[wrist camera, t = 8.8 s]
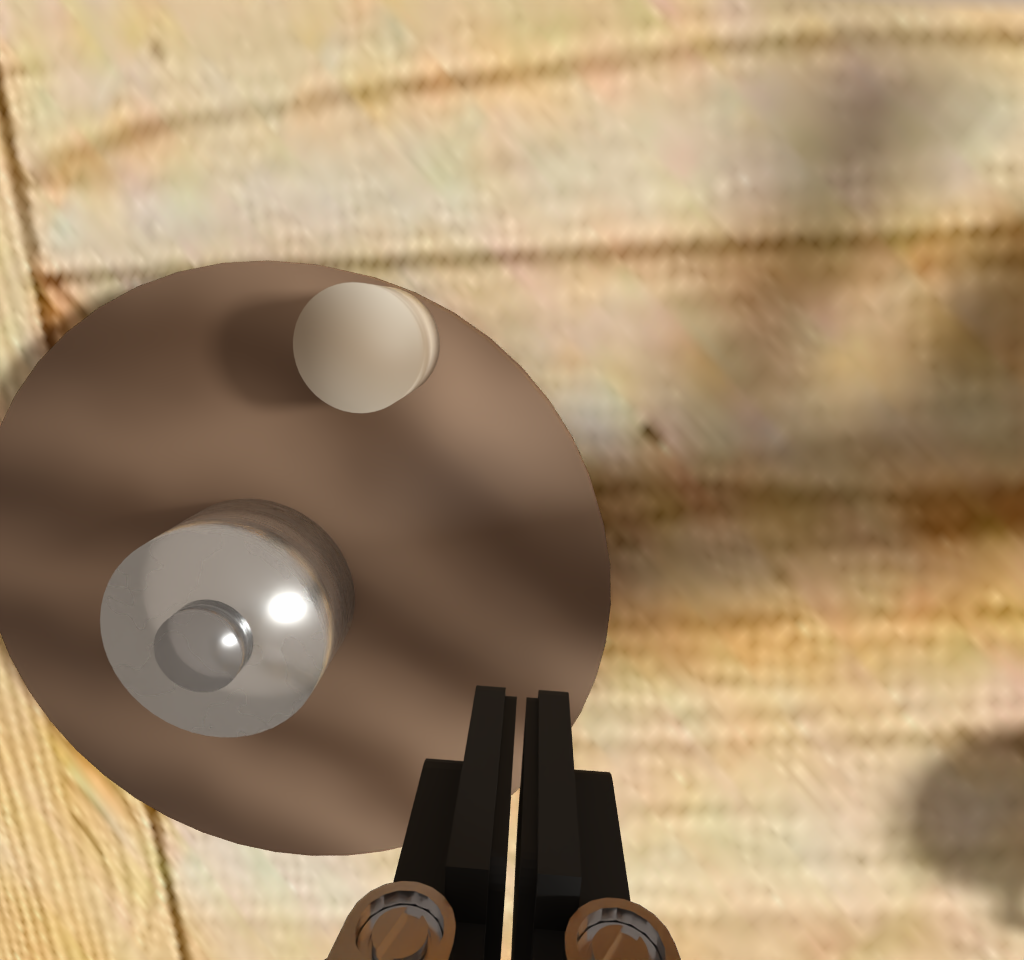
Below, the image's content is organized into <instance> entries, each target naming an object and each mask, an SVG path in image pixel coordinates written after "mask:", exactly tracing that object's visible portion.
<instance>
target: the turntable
mask: <svg viewBox="0 0 1024 960" xmlns="http://www.w3.org/2000/svg"><path fill="white" fill-rule="evenodd" d="M251 498H252V499H261V500H268V501H272V502H276V503H280V504H282V505H285V506H288V507H290V508H292V509H294V510H296V511H298V512H300V513H302V514H304V515H305V516H307V517H308V518H310V519H311V520H313V521H314V522H315V523H316V524H318V525H319V526H320V527H321V528H322V529H324V531H325V532H326V533H327V534H328V535H329V536H330V537H331V538H332V539H333V541H334V542H335V543H336V545H337V546H338V548H339V549H340V550H341V552H342V554H343V556H344V558H345V560H346V562H347V564H348V567H349V569H350V572H351V576H352V580H353V584H354V592H355V608H354V614H353V619H352V622H351V625H350V628H349V631H348V633H347V635H346V637H345V639H344V640H343V642H342V644H341V645H340V647H339V649H338V650H337V652H336V654H335V655H334V657H333V659H332V660H331V662H330V664H329V665H328V667H327V669H326V670H325V672H324V674H323V675H322V677H321V679H320V680H319V682H318V684H317V685H316V687H315V688H314V690H313V692H312V693H311V695H310V696H309V698H308V699H307V700H306V702H305V703H304V705H303V706H302V707H301V708H300V709H299V710H298V711H297V712H296V713H295V714H293V715H292V716H291V717H290V718H288V719H287V720H286V721H284V722H282V723H281V724H279V725H277V726H275V727H274V728H271V729H268V730H266V731H263V732H261V733H257V734H253V735H249V736H241V737H213V736H205V735H201V734H197V733H192V732H190V731H187V730H184V729H181V728H178V727H176V726H174V725H172V724H170V723H168V722H166V721H164V720H162V719H161V718H159V717H158V716H156V715H154V714H153V713H152V712H150V711H149V710H148V709H146V708H145V707H144V706H142V705H141V704H140V703H139V702H138V701H137V700H136V699H135V698H134V697H133V696H132V695H131V694H130V693H129V692H128V690H127V689H126V688H125V687H124V686H123V684H122V683H121V681H120V680H119V678H118V677H117V675H116V674H115V672H114V670H113V668H112V666H111V664H110V662H109V660H108V657H107V654H106V652H105V649H104V645H103V641H102V636H101V627H100V613H101V604H102V600H103V595H104V592H105V590H106V587H107V585H108V582H109V580H110V578H111V577H112V575H113V573H114V572H115V570H116V569H117V568H118V566H119V565H120V564H121V563H122V562H123V560H124V559H125V558H127V557H128V556H129V555H130V554H131V553H132V552H133V551H135V550H136V549H138V548H139V547H141V546H142V545H144V544H145V543H147V542H149V541H150V540H152V539H154V538H156V537H157V536H159V535H161V534H162V533H164V532H166V531H167V530H169V529H171V528H173V527H174V526H176V525H178V524H179V523H181V522H183V521H184V520H186V519H188V518H190V517H191V516H193V515H195V514H196V513H198V512H200V511H201V510H203V509H205V508H207V507H210V506H212V505H214V504H217V503H220V502H224V501H228V500H234V499H251ZM610 605H611V601H610V562H609V555H608V549H607V542H606V536H605V530H604V524H603V520H602V517H601V513H600V510H599V506H598V503H597V500H596V496H595V493H594V490H593V486H592V483H591V480H590V476H589V473H588V471H587V468H586V466H585V464H584V462H583V460H582V457H581V455H580V453H579V451H578V449H577V447H576V444H575V442H574V440H573V438H572V436H571V434H570V432H569V431H568V429H567V428H566V426H565V424H564V423H563V421H562V420H561V418H560V416H559V415H558V413H557V412H556V410H555V409H554V407H553V405H552V404H551V402H550V401H549V399H548V398H547V397H546V396H545V395H544V393H543V392H542V391H541V390H540V389H539V387H538V386H537V385H536V384H535V382H534V381H533V380H532V379H531V378H530V376H529V375H528V374H527V373H526V372H525V370H524V369H523V368H522V367H521V366H520V365H519V364H518V363H517V362H515V361H514V360H513V359H512V358H511V357H510V356H509V355H508V354H507V353H506V352H505V351H504V350H502V349H501V348H500V347H499V346H498V345H497V344H496V343H495V342H494V341H493V340H492V339H491V338H489V337H488V336H486V335H485V334H484V333H482V332H481V331H479V330H478V329H477V328H475V327H474V326H472V325H471V324H469V323H468V322H467V321H465V320H464V319H462V318H461V317H460V316H458V315H457V314H455V313H454V312H452V311H450V310H448V309H446V308H444V307H442V306H440V305H438V304H437V303H435V302H433V301H431V300H429V299H427V298H425V297H423V296H421V295H419V294H418V293H416V292H413V291H410V290H407V289H405V288H402V287H399V286H397V285H394V284H391V283H388V282H386V281H383V280H380V279H378V278H375V277H371V276H366V275H362V274H357V273H353V272H348V271H344V270H339V269H335V268H330V267H325V266H320V265H315V264H303V263H291V262H279V261H251V262H233V263H220V264H215V265H210V266H205V267H201V268H196V269H191V270H186V271H181V272H177V273H174V274H171V275H169V276H166V277H163V278H160V279H157V280H155V281H152V282H149V283H146V284H144V285H141V286H138V287H136V288H134V289H132V290H130V291H129V292H127V293H125V294H123V295H121V296H119V297H118V298H116V299H114V300H112V301H110V302H108V303H107V304H105V305H103V306H101V307H99V308H98V309H97V310H95V311H94V312H93V313H91V314H90V315H89V316H87V317H86V318H85V319H84V320H82V321H81V322H80V323H78V324H77V325H76V326H74V327H73V328H72V329H70V330H69V331H68V332H67V333H66V334H65V335H64V336H63V337H62V338H61V339H60V340H59V341H58V342H57V343H56V344H55V345H54V346H53V347H52V348H51V349H50V350H49V351H48V352H47V353H46V354H45V356H44V357H43V358H42V359H41V360H40V361H39V362H38V363H37V365H36V366H35V367H34V369H33V370H32V372H31V373H30V375H29V376H28V378H27V379H26V380H25V382H24V383H23V385H22V386H21V388H20V389H19V391H18V392H17V394H16V395H15V397H14V399H13V401H12V403H11V405H10V407H9V409H8V411H7V414H6V416H5V418H4V420H3V422H2V424H1V426H0V633H1V635H2V638H3V640H4V643H5V645H6V648H7V650H8V653H9V655H10V657H11V659H12V661H13V663H14V665H15V666H16V668H17V670H18V672H19V674H20V676H21V677H22V679H23V681H24V683H25V685H26V686H27V688H28V690H29V691H30V693H31V694H32V696H33V697H34V698H35V700H36V701H37V703H38V704H39V706H40V707H41V708H42V710H43V711H44V713H45V714H46V715H47V717H48V718H49V720H50V721H51V722H52V723H53V724H54V726H55V727H56V728H57V729H58V730H59V731H60V732H61V733H62V734H63V736H64V737H65V738H66V739H67V740H68V741H69V742H70V743H71V745H72V746H73V747H74V748H75V749H76V750H77V751H78V752H79V753H80V754H81V755H82V756H84V757H85V758H86V759H87V760H88V761H89V762H90V763H91V764H92V765H94V766H95V767H96V768H97V769H98V770H99V771H100V772H101V773H102V774H103V775H105V776H106V777H107V778H109V779H110V780H111V781H113V782H114V783H116V784H117V785H118V786H120V787H121V788H122V789H124V790H125V791H127V792H128V793H129V794H131V795H132V796H133V797H135V798H136V799H138V800H140V801H142V802H143V803H145V804H147V805H149V806H150V807H152V808H154V809H155V810H157V811H159V812H161V813H162V814H164V815H166V816H168V817H170V818H172V819H174V820H176V821H179V822H181V823H183V824H185V825H187V826H190V827H192V828H194V829H196V830H199V831H201V832H203V833H206V834H209V835H212V836H216V837H219V838H222V839H225V840H228V841H231V842H234V843H237V844H241V845H246V846H250V847H255V848H260V849H264V850H269V851H274V852H282V853H292V854H301V855H311V856H319V855H355V854H364V853H372V852H381V851H386V850H390V849H395V848H399V847H402V846H403V842H404V839H405V835H406V831H407V827H408V823H409V819H410V815H411V811H412V807H413V803H414V799H415V795H416V791H417V787H418V783H419V779H420V776H421V772H422V768H423V764H424V761H425V759H426V758H429V759H442V760H455V761H463V760H464V754H465V748H466V743H467V737H468V731H469V725H470V719H471V713H472V707H473V701H474V695H475V689H476V686H477V685H480V686H493V687H506V695H505V696H516V697H517V705H516V721H515V737H514V754H513V770H512V786H511V795H512V794H513V793H514V792H515V791H517V790H518V789H519V788H520V782H521V768H522V754H523V739H524V725H525V711H526V698H527V697H530V698H538V691H539V690H548V691H561V692H568V693H569V703H570V717H571V727H572V726H573V724H574V722H575V721H576V719H577V718H578V716H579V714H580V713H581V711H582V708H583V706H584V704H585V702H586V699H587V697H588V695H589V693H590V690H591V688H592V686H593V684H594V681H595V679H596V675H597V672H598V668H599V665H600V661H601V658H602V654H603V650H604V647H605V643H606V636H607V628H608V621H609V613H610Z"/></svg>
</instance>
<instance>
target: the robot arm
mask: <svg viewBox="0 0 1024 960" xmlns="http://www.w3.org/2000/svg"><path fill="white" fill-rule="evenodd" d="M505 695H506V687H493V686H480V685H477V686H476V689H475V695H474V701H473V707H472V713H471V719H470V725H469V731H468V737H467V743H466V748H465V754H464V760H463V761H455V760H442V759H429V758H426V759H425V761H424V764H423V768H422V772H421V776H420V779H419V783H418V787H417V791H416V795H415V799H414V803H413V807H412V811H411V815H410V819H409V823H408V827H407V831H406V835H405V839H404V842H403V846H402V850H401V854H400V858H399V862H398V866H397V870H396V874H395V878H394V882H393V883H388V884H385V885H382V886H380V887H378V888H376V889H374V890H372V891H370V892H369V893H368V894H366V895H365V896H364V897H363V898H362V899H360V900H359V901H358V902H357V903H356V905H355V906H354V908H353V909H352V910H351V912H350V913H349V915H348V916H347V918H346V920H345V923H344V925H343V927H342V929H341V931H340V933H339V935H338V937H337V939H336V941H335V943H334V945H333V947H332V949H331V951H330V953H329V955H328V957H327V959H325V960H500V958H501V943H502V928H503V913H504V898H505V883H506V868H507V852H508V835H509V819H510V803H511V786H512V770H513V754H514V737H515V721H516V705H517V697H516V696H505ZM511 960H681V958H680V956H679V953H678V950H677V947H676V945H675V942H674V941H673V939H672V937H671V935H670V933H669V931H668V929H667V928H666V926H665V925H664V924H663V923H662V922H661V921H660V920H659V919H658V918H657V917H656V916H655V915H654V914H653V913H651V912H650V911H648V910H647V909H645V908H644V907H642V906H641V905H639V904H636V903H633V902H631V901H630V895H629V888H628V881H627V875H626V868H625V861H624V855H623V848H622V841H621V834H620V828H619V821H618V814H617V807H616V801H615V794H614V787H613V781H612V776H611V774H610V772H598V771H585V770H574V760H573V746H572V731H571V717H570V703H569V693H568V692H561V691H548V690H539V691H538V698H530V697H527V698H526V711H525V725H524V739H523V754H522V768H521V782H520V796H519V810H518V825H517V843H516V864H515V886H514V908H513V930H512V952H511Z"/></svg>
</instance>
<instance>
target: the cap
mask: <svg viewBox="0 0 1024 960" xmlns="http://www.w3.org/2000/svg"><path fill="white" fill-rule="evenodd" d="M354 608H355V592H354V584H353V580H352V576H351V572H350V569H349V567H348V564H347V562H346V560H345V558H344V556H343V554H342V552H341V550H340V549H339V548H338V546H337V545H336V543H335V542H334V541H333V539H332V538H331V537H330V536H329V535H328V534H327V533H326V532H325V531H324V529H322V528H321V527H320V526H319V525H318V524H316V523H315V522H314V521H313V520H311V519H310V518H308V517H307V516H305V515H304V514H302V513H300V512H298V511H296V510H294V509H292V508H290V507H288V506H285V505H282V504H280V503H276V502H272V501H268V500H261V499H252V498H251V499H234V500H228V501H224V502H220V503H217V504H214V505H212V506H210V507H207V508H205V509H203V510H201V511H200V512H198V513H196V514H195V515H193V516H191V517H190V518H188V519H186V520H184V521H183V522H181V523H179V524H178V525H176V526H174V527H173V528H171V529H169V530H167V531H166V532H164V533H162V534H161V535H159V536H157V537H156V538H154V539H152V540H150V541H149V542H147V543H145V544H144V545H142V546H141V547H139V548H138V549H136V550H135V551H133V552H132V553H131V554H130V555H129V556H128V557H127V558H125V559H124V560H123V562H122V563H121V564H120V565H119V566H118V568H117V569H116V570H115V572H114V573H113V575H112V577H111V578H110V580H109V582H108V585H107V587H106V590H105V592H104V595H103V600H102V604H101V613H100V627H101V636H102V641H103V645H104V649H105V652H106V654H107V657H108V660H109V662H110V664H111V666H112V668H113V670H114V672H115V674H116V675H117V677H118V678H119V680H120V681H121V683H122V684H123V686H124V687H125V688H126V689H127V690H128V692H129V693H130V694H131V695H132V696H133V697H134V698H135V699H136V700H137V701H138V702H139V703H140V704H141V705H142V706H144V707H145V708H146V709H148V710H149V711H150V712H152V713H153V714H154V715H156V716H158V717H159V718H161V719H162V720H164V721H166V722H168V723H170V724H172V725H174V726H176V727H178V728H181V729H184V730H187V731H190V732H192V733H197V734H201V735H205V736H213V737H241V736H249V735H253V734H257V733H261V732H263V731H266V730H268V729H271V728H274V727H275V726H277V725H279V724H281V723H282V722H284V721H286V720H287V719H288V718H290V717H291V716H292V715H293V714H295V713H296V712H297V711H298V710H299V709H300V708H301V707H302V706H303V705H304V703H305V702H306V700H307V699H308V698H309V696H310V695H311V693H312V692H313V690H314V688H315V687H316V685H317V684H318V682H319V680H320V679H321V677H322V675H323V674H324V672H325V670H326V669H327V667H328V665H329V664H330V662H331V660H332V659H333V657H334V655H335V654H336V652H337V650H338V649H339V647H340V645H341V644H342V642H343V640H344V639H345V637H346V635H347V633H348V631H349V628H350V625H351V622H352V619H353V614H354Z"/></svg>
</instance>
